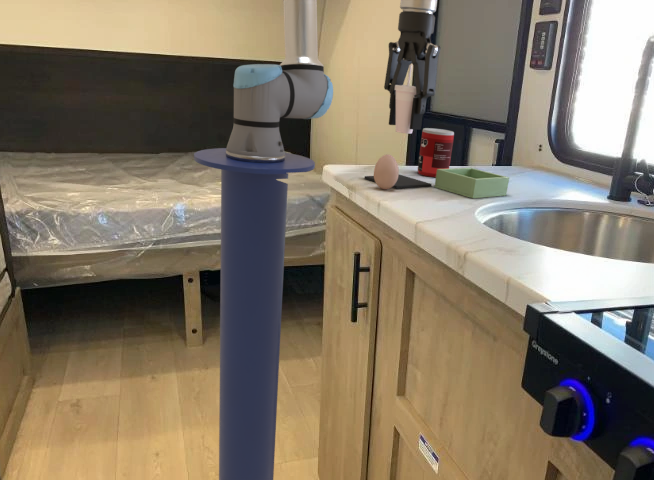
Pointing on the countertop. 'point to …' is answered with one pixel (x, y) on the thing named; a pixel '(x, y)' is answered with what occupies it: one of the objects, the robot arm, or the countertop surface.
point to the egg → (386, 172)
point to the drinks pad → (405, 182)
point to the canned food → (435, 151)
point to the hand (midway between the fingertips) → (404, 126)
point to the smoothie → (404, 105)
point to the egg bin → (471, 182)
